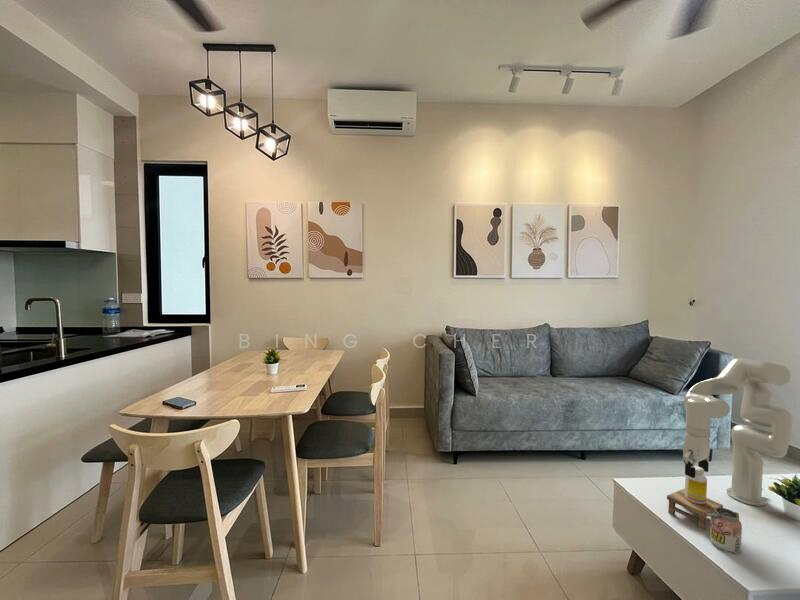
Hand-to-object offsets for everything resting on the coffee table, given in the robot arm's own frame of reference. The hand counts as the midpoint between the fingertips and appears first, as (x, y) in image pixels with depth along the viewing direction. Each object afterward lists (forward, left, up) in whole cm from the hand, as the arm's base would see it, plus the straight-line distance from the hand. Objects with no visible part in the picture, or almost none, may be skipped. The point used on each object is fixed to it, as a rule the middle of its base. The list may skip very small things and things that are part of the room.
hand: (696, 473), depth 144 cm
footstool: (+1, 0, -18) cm, 18 cm away
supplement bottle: (0, 0, -11) cm, 11 cm away
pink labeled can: (+9, +13, -18) cm, 24 cm away
